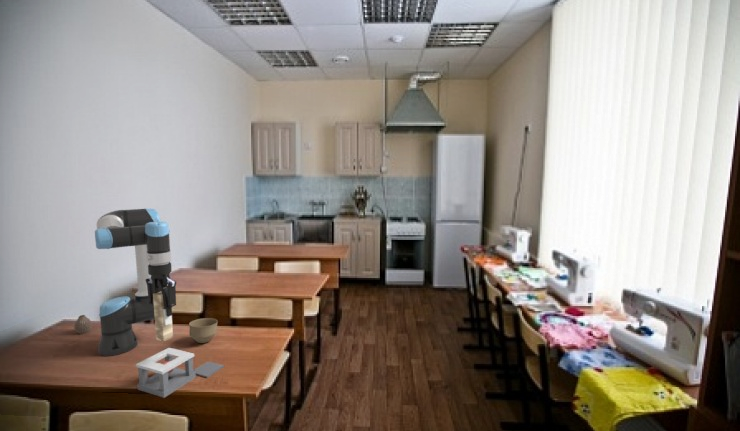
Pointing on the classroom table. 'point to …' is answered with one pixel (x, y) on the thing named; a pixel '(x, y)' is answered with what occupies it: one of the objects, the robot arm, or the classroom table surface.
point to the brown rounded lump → (82, 324)
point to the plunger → (169, 370)
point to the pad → (207, 369)
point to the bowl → (203, 329)
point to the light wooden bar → (161, 319)
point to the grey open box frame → (165, 372)
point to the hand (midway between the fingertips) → (163, 322)
